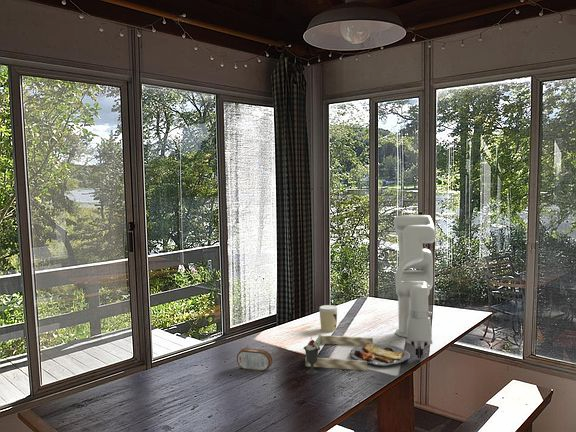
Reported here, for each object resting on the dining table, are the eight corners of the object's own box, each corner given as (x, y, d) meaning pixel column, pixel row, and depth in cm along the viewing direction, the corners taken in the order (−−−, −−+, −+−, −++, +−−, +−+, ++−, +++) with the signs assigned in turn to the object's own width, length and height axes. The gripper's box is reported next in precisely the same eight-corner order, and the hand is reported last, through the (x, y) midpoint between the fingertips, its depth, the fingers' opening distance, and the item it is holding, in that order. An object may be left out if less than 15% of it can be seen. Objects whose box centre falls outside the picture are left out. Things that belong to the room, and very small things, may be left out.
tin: (272, 370, 198) (272, 349, 197) (270, 372, 195) (269, 352, 194) (239, 366, 203) (238, 346, 202) (236, 369, 200) (235, 349, 199)
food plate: (339, 358, 209) (339, 350, 209) (369, 345, 226) (369, 337, 226) (390, 374, 192) (390, 365, 192) (418, 358, 209) (419, 350, 209)
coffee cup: (338, 332, 246) (338, 309, 245) (320, 332, 246) (319, 309, 245) (337, 327, 255) (336, 304, 254) (319, 327, 255) (318, 305, 255)
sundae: (309, 377, 189) (308, 339, 188) (301, 371, 195) (300, 334, 194) (323, 373, 192) (323, 336, 191) (315, 368, 198) (314, 332, 197)
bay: (372, 345, 225) (372, 337, 225) (366, 370, 195) (366, 361, 195) (319, 342, 231) (319, 335, 231) (305, 366, 201) (305, 357, 201)
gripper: (437, 312, 205) (437, 355, 207) (400, 311, 209) (401, 353, 210) (438, 317, 198) (438, 361, 199) (400, 315, 202) (401, 359, 203)
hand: (419, 357), depth 205 cm, fingers closed
